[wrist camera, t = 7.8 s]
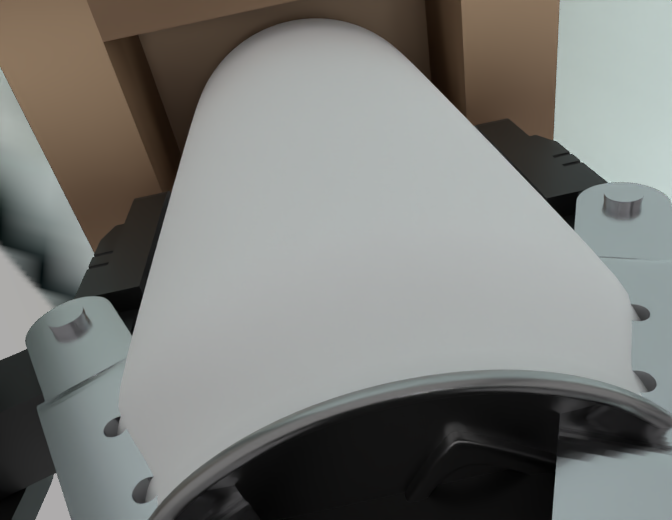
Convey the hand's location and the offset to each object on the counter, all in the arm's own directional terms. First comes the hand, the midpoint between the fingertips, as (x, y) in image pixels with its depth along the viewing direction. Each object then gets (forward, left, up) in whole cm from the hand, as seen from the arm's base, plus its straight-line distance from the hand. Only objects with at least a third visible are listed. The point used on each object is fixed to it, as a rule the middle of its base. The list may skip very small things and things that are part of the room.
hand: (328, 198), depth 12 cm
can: (0, 0, -4) cm, 4 cm away
